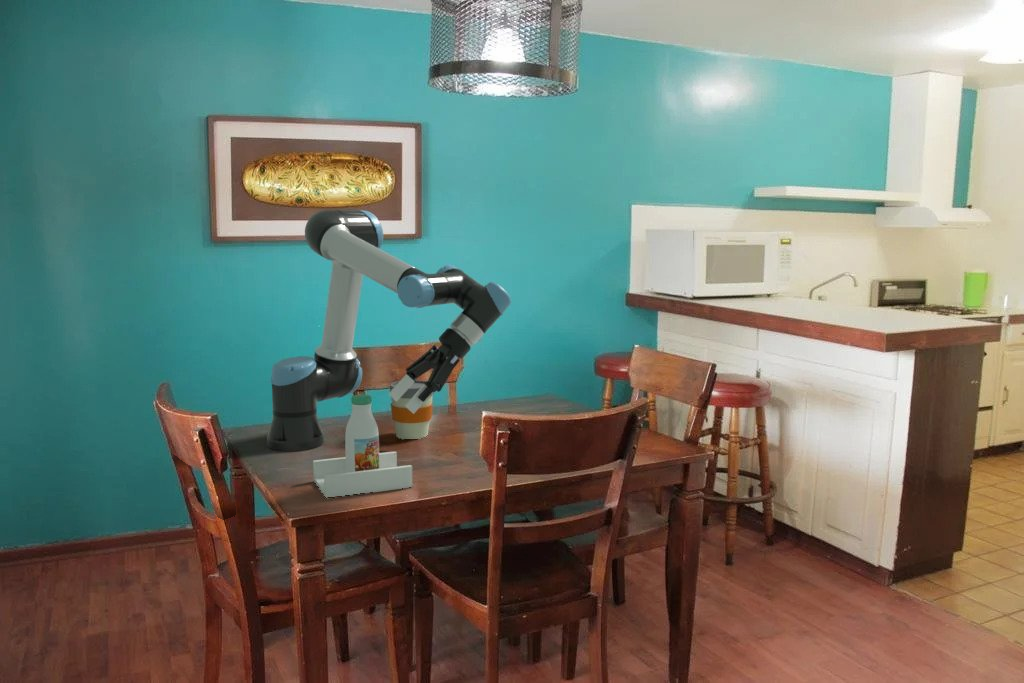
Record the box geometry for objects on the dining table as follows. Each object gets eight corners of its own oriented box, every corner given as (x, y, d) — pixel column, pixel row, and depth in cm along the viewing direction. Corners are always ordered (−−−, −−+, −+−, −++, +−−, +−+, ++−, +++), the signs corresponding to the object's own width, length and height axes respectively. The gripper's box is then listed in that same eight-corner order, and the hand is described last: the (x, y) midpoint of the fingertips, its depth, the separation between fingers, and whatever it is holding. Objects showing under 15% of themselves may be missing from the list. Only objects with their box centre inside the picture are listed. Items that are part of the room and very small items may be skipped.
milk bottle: (342, 484, 189) (340, 399, 186) (350, 474, 196) (348, 392, 193) (375, 485, 188) (374, 399, 185) (382, 475, 196) (381, 392, 193)
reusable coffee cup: (388, 441, 229) (388, 389, 226) (391, 430, 241) (390, 380, 239) (434, 441, 230) (434, 388, 228) (434, 429, 242) (433, 379, 240)
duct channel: (313, 481, 194) (313, 460, 193) (395, 471, 202) (395, 451, 202) (325, 498, 182) (325, 476, 181) (412, 487, 190) (412, 466, 190)
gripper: (490, 355, 187) (428, 425, 183) (452, 340, 210) (396, 402, 206) (469, 333, 184) (405, 404, 180) (432, 320, 207) (375, 383, 203)
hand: (400, 403), depth 193 cm, fingers open, 13 cm apart
